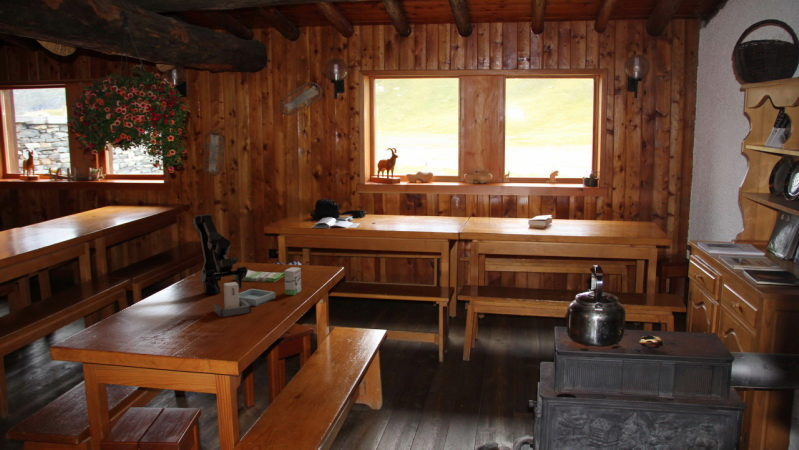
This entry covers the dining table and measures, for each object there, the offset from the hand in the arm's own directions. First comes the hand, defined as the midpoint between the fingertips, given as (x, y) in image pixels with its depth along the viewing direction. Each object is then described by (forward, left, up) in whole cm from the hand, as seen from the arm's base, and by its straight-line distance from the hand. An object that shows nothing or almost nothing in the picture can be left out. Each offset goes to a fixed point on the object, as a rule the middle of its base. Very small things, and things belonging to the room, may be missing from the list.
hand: (230, 290), depth 292 cm
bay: (+1, -1, -9) cm, 9 cm away
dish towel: (-28, +51, -10) cm, 59 cm away
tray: (-2, +17, -9) cm, 20 cm away
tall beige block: (+1, -1, -9) cm, 9 cm away
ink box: (+6, +36, -9) cm, 38 cm away
